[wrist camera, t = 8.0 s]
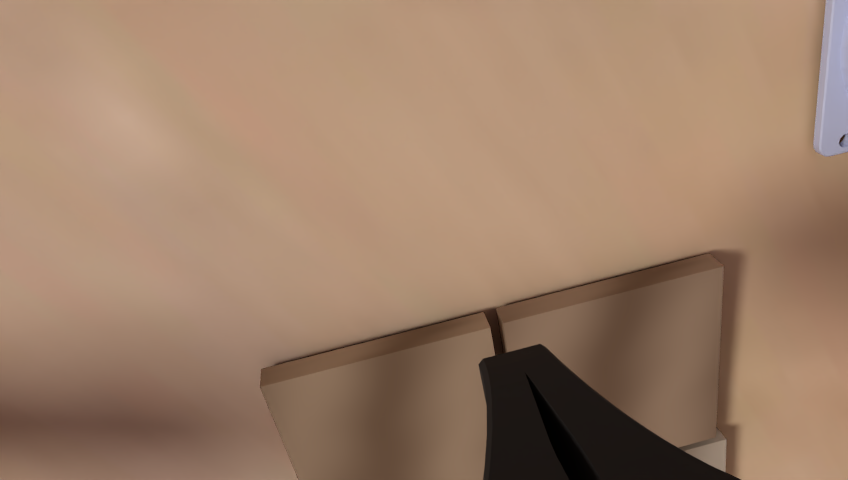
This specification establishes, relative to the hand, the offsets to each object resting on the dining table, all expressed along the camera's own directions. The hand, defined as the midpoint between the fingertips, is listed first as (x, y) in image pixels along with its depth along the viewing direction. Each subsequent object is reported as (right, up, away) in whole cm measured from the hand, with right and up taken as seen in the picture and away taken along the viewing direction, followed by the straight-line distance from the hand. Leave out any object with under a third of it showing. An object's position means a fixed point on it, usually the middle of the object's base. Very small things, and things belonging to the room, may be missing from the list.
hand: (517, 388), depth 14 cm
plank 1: (-3, -5, +13) cm, 14 cm away
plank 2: (+6, -2, +14) cm, 15 cm away
